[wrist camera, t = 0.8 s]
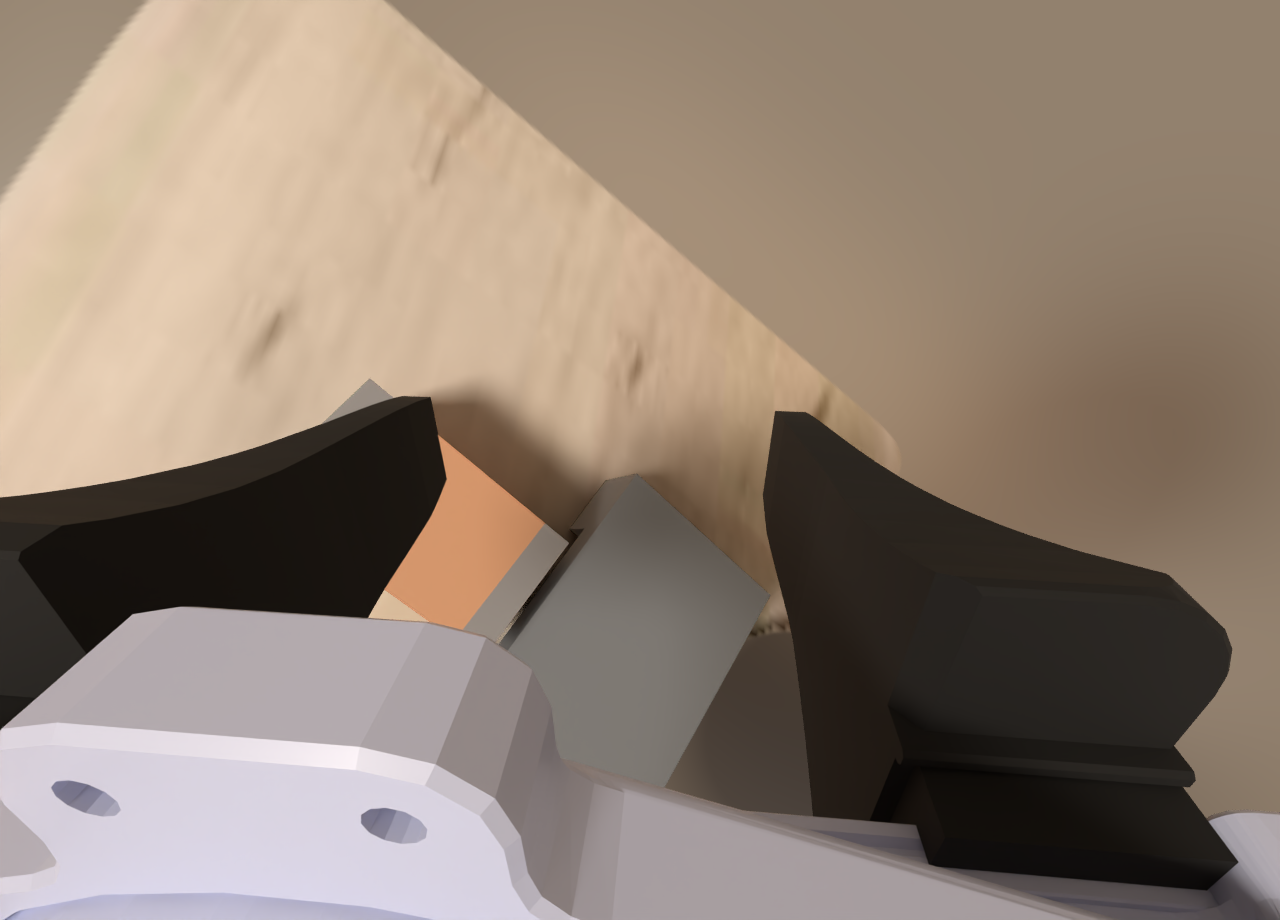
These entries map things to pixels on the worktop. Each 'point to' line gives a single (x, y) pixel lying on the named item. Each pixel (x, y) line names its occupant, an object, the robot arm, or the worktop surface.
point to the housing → (469, 546)
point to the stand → (634, 632)
